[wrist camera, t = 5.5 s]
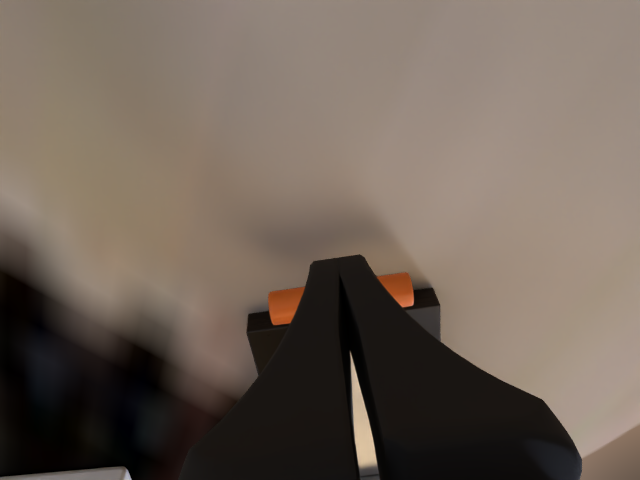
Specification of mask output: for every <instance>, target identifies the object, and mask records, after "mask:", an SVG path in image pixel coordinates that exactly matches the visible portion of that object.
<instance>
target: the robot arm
mask: <svg viewBox="0 0 640 480" xmlns="http://www.w3.org/2000/svg"><path fill="white" fill-rule="evenodd" d="M350 352H351V354H350ZM351 355H352V359H353V363H354V367H355V371H356V374H357V378H358V382H359V386H360V389H361V393H362V397H363V401H364V404H365V408H366V412H367V416H368V419H369V423H370V428H371V432H372V437H373V442H374V448H375V454H376V460H377V466H378V472H379V478H380V480H580V476H581V472H582V459H581V457H580V454H579V452H578V450H577V448H576V446H575V444H574V442H573V441H572V439H571V437H570V436H569V434H568V433H567V431H566V430H565V428H564V427H563V425H562V424H561V423H560V421H559V420H558V419H557V417H556V416H555V415H554V413H553V412H552V411H551V410H550V408H549V407H548V406H547V404H546V403H545V402H544V401H543V400H542V399H540V398H538V397H536V396H534V395H531V394H529V393H527V392H525V391H523V390H521V389H518V388H516V387H514V386H512V385H510V384H508V383H505V382H503V381H501V380H499V379H498V378H496V377H494V376H492V375H490V374H489V373H487V372H485V371H483V370H481V369H480V368H478V367H476V366H475V365H473V364H472V363H470V362H469V361H467V360H466V359H464V358H463V357H461V356H459V355H458V354H456V353H455V352H453V351H452V350H451V349H449V348H448V347H447V346H445V345H444V344H443V343H441V342H440V341H439V340H438V339H436V338H435V337H434V336H433V335H431V334H430V333H429V332H428V331H427V330H425V329H424V328H423V327H422V326H421V325H420V324H419V323H418V322H417V321H416V320H414V319H413V318H412V317H411V316H410V315H409V314H408V313H407V312H406V311H405V310H404V309H403V308H402V306H401V305H400V304H399V303H398V302H397V301H396V300H395V299H394V298H393V296H392V295H391V294H390V293H389V292H388V291H387V290H386V288H385V287H384V286H383V285H382V283H381V282H380V281H379V279H378V278H377V277H376V275H375V274H374V273H373V271H372V270H371V268H370V267H369V265H368V263H367V261H366V260H365V258H364V257H363V256H362V255H353V256H346V257H339V258H332V259H326V260H319V261H314V262H313V263H312V264H311V265H310V270H309V275H308V279H307V282H306V286H305V289H304V292H303V295H302V297H301V300H300V302H299V305H298V307H297V310H296V312H295V314H294V317H293V319H292V321H291V323H290V325H289V327H288V329H287V331H286V333H285V335H284V337H283V339H282V340H281V342H280V344H279V346H278V347H277V349H276V351H275V352H274V354H273V356H272V357H271V359H270V360H269V362H268V363H267V365H266V366H265V368H264V369H263V370H262V372H261V373H260V375H259V376H258V377H257V379H256V380H255V382H254V383H253V384H252V385H251V387H250V388H249V389H248V391H247V392H246V393H245V394H244V395H243V396H242V397H241V399H240V400H239V401H238V402H237V403H236V404H235V405H234V407H233V408H232V409H231V410H230V411H229V412H228V413H227V415H226V416H225V417H224V418H223V419H222V420H221V421H220V422H219V423H218V424H217V425H216V426H215V427H214V428H213V429H211V430H210V431H209V432H208V433H207V434H206V435H205V436H204V437H203V438H202V439H201V440H200V441H199V442H197V443H196V444H195V445H194V446H193V447H192V448H191V449H190V450H189V452H188V454H187V457H186V459H185V462H184V465H183V468H182V470H181V474H180V477H179V480H361V479H360V472H359V465H358V458H357V451H356V444H355V433H354V419H353V397H352V375H351Z"/></svg>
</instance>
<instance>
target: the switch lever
mask: <svg viewBox="0 0 640 480" xmlns="http://www.w3.org/2000/svg"><path fill="white" fill-rule="evenodd" d="M377 278H378V279H379V281H380V282H381V283H382V285H383V286H384V287H385V288H386V290H387V291H388V292H389V293H390V294H391V295H392V296H393V298H394V299H395V300H396V301H397V302H398V303H399V304H400V305H401V306H402V307H408V306H412V305H413V303H414V293H413V287H412V282H411V278H410V276H409V274H408V273H406V272H405V273H398V274H391V275H384V276H377ZM304 289H305V287H300V288H293V289H286V290H279V291H272V292H269V295H268V304H269V312H270V317H271V321H272V323H273V325H281V324H288V323H291V321H292V319H293V317H294V314H295V312H296V310H297V307H298V305H299V302H300V300H301V297H302V295H303V292H304ZM350 354H351V352H350ZM351 375H352V397H353V419H354V433H355V444H356V451H357V458H358V465H359V472H360V479H361V480H380V478H379V472H378V466H377V460H376V454H375V448H374V442H373V437H372V432H371V428H370V423H369V419H368V416H367V412H366V408H365V404H364V401H363V397H362V393H361V389H360V386H359V382H358V378H357V374H356V371H355V367H354V363H353V359H352V355H351Z"/></svg>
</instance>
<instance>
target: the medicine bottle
mask: <svg viewBox="0 0 640 480" xmlns="http://www.w3.org/2000/svg"><path fill="white" fill-rule="evenodd" d="M0 480H132V479H131V477H130V474H129V472H128V470H127V469H126V468H125V467H124V466H116V467H105V468H94V469H83V470H72V471H61V472H49V473H38V474H27V475H16V476H5V477H0Z"/></svg>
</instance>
